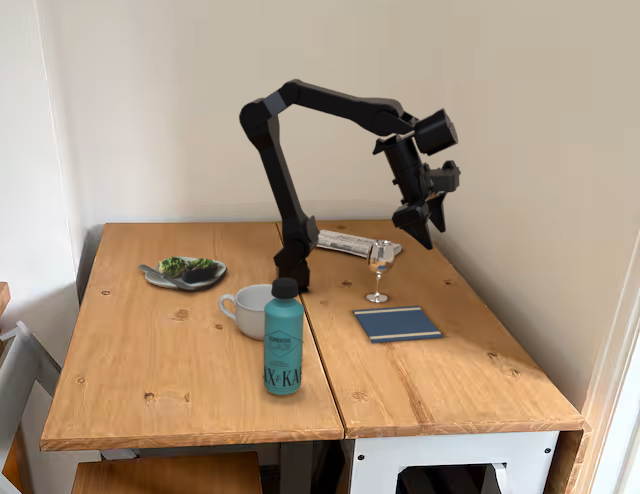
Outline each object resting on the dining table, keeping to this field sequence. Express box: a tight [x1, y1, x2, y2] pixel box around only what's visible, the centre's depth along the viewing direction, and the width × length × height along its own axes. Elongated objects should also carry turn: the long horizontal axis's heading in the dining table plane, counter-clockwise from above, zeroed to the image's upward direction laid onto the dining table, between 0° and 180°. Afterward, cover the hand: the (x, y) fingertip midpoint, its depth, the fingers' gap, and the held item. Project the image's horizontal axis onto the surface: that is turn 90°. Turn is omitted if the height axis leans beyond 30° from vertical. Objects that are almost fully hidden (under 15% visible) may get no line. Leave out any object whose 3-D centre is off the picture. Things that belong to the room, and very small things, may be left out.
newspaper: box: [316, 229, 403, 258], centre depth 177 cm, size 23×12×2 cm, turn 58°
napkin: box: [352, 305, 444, 344], centre depth 141 cm, size 14×14×1 cm
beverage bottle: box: [262, 278, 305, 396], centre depth 113 cm, size 6×7×20 cm
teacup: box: [217, 283, 275, 341], centre depth 136 cm, size 14×11×8 cm
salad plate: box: [137, 255, 228, 293], centre depth 159 cm, size 19×18×5 cm
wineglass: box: [365, 239, 396, 303], centre depth 149 cm, size 6×6×12 cm
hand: (437, 240), depth 141 cm, fingers open, 9 cm apart
